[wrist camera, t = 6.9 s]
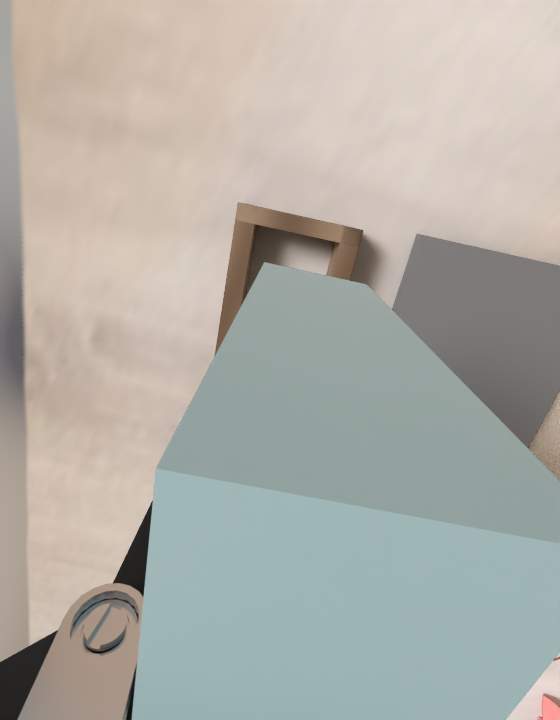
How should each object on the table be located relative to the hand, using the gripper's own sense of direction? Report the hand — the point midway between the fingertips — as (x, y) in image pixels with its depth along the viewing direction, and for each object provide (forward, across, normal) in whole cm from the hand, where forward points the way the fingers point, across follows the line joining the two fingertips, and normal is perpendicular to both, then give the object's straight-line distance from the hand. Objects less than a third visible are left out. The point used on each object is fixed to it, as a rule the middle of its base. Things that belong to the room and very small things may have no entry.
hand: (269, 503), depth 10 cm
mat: (+19, -15, +2) cm, 24 cm away
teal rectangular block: (+3, 0, 0) cm, 3 cm away
